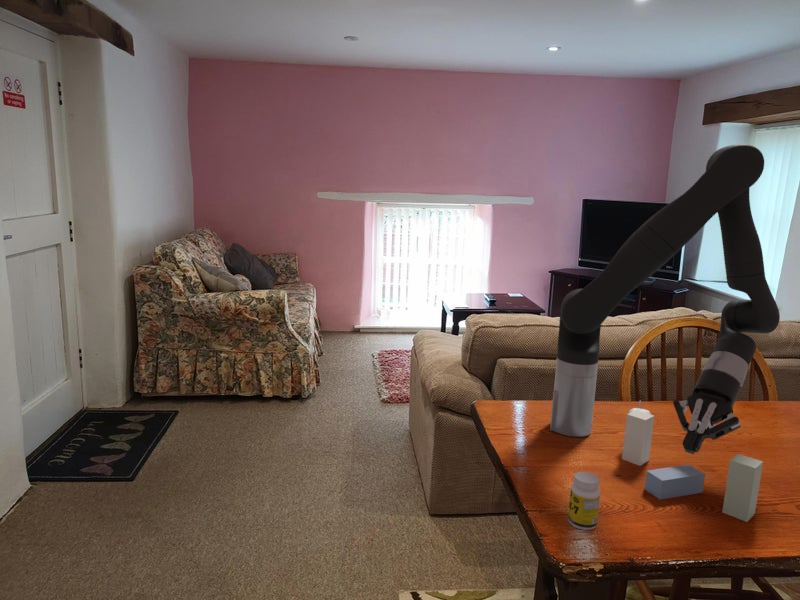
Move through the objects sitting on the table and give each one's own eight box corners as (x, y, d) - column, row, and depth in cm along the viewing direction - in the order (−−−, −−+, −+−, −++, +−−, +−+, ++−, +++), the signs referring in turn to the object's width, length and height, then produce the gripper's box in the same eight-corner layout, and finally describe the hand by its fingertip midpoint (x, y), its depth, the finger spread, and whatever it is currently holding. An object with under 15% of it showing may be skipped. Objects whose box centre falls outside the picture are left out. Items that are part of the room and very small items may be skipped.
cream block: (621, 459, 125) (626, 414, 123) (630, 453, 127) (635, 409, 126) (640, 465, 122) (645, 420, 120) (649, 460, 125) (654, 415, 123)
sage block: (722, 512, 105) (730, 459, 103) (730, 504, 108) (738, 453, 106) (746, 522, 102) (755, 468, 100) (754, 514, 105) (763, 461, 103)
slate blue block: (686, 483, 116) (644, 490, 112) (688, 464, 115) (646, 470, 112) (702, 493, 112) (659, 500, 109) (705, 474, 111) (662, 480, 108)
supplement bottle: (563, 515, 102) (567, 470, 101) (590, 514, 103) (594, 470, 101) (573, 531, 97) (578, 484, 96) (601, 530, 98) (606, 483, 96)
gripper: (684, 360, 123) (650, 430, 117) (754, 377, 113) (721, 454, 107) (691, 380, 127) (659, 448, 121) (760, 397, 117) (728, 472, 112)
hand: (688, 451), depth 114 cm, fingers closed
